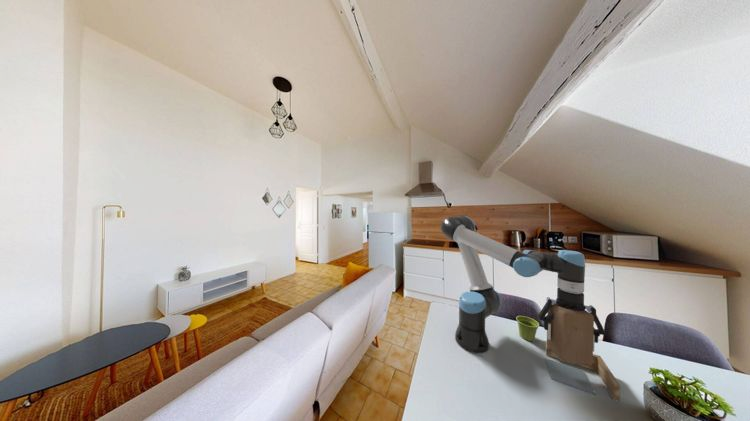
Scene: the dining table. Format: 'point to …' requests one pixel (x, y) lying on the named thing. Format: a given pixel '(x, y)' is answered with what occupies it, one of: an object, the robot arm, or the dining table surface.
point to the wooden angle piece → (602, 371)
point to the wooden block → (572, 335)
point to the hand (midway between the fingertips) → (568, 343)
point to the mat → (569, 375)
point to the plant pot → (527, 327)
